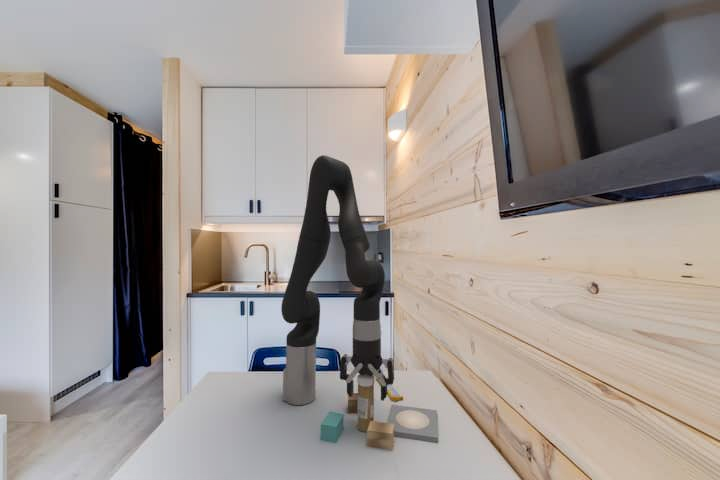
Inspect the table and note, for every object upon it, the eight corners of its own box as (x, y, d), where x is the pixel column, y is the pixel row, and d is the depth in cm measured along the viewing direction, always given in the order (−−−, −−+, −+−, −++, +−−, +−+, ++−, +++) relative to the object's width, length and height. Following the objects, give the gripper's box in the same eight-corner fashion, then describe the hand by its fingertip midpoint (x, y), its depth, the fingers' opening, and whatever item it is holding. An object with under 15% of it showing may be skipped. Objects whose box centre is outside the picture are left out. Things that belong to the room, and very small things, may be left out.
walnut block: (347, 413, 87) (347, 399, 87) (347, 406, 91) (347, 393, 91) (368, 413, 87) (368, 399, 87) (367, 406, 91) (367, 393, 91)
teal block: (320, 440, 75) (320, 424, 75) (329, 426, 81) (329, 411, 81) (336, 443, 74) (336, 426, 74) (343, 429, 80) (343, 413, 80)
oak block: (367, 447, 72) (367, 430, 73) (370, 437, 76) (370, 420, 77) (392, 450, 71) (392, 433, 71) (394, 440, 75) (394, 424, 75)
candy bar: (404, 402, 94) (404, 396, 94) (392, 404, 93) (392, 398, 93) (386, 379, 111) (386, 374, 111) (375, 380, 110) (375, 375, 110)
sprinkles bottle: (377, 428, 80) (378, 376, 80) (363, 434, 77) (363, 380, 78) (367, 420, 83) (368, 370, 84) (353, 425, 81) (354, 374, 81)
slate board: (384, 434, 77) (385, 429, 77) (391, 408, 90) (391, 404, 90) (437, 442, 74) (437, 437, 74) (436, 414, 87) (436, 409, 87)
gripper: (336, 337, 79) (336, 401, 78) (391, 341, 76) (392, 407, 75) (344, 330, 86) (344, 388, 86) (395, 333, 83) (395, 393, 82)
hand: (366, 397), depth 80 cm, fingers open, 8 cm apart
